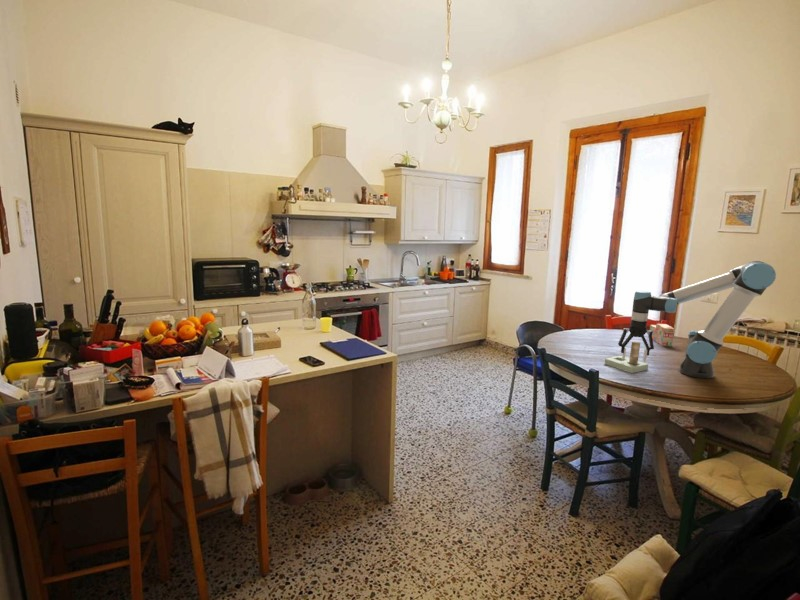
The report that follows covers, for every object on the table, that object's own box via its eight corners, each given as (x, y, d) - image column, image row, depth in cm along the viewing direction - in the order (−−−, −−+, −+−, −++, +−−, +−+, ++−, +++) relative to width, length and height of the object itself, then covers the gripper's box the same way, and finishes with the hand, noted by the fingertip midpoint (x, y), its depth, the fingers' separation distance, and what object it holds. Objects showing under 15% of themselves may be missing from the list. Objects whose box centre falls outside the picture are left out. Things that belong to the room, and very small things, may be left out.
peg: (638, 369, 224) (642, 342, 222) (633, 370, 223) (637, 343, 220) (631, 367, 228) (634, 341, 225) (626, 368, 226) (630, 341, 223)
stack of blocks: (648, 337, 292) (650, 320, 290) (657, 337, 291) (660, 321, 289) (661, 345, 271) (664, 327, 269) (672, 346, 270) (674, 328, 268)
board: (647, 369, 225) (648, 364, 224) (631, 373, 219) (632, 367, 218) (620, 360, 239) (621, 355, 238) (604, 363, 233) (605, 358, 232)
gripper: (660, 320, 220) (655, 360, 225) (614, 316, 227) (610, 355, 231) (664, 323, 213) (658, 364, 218) (617, 319, 220) (612, 359, 224)
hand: (633, 359), depth 224 cm, fingers open, 9 cm apart
